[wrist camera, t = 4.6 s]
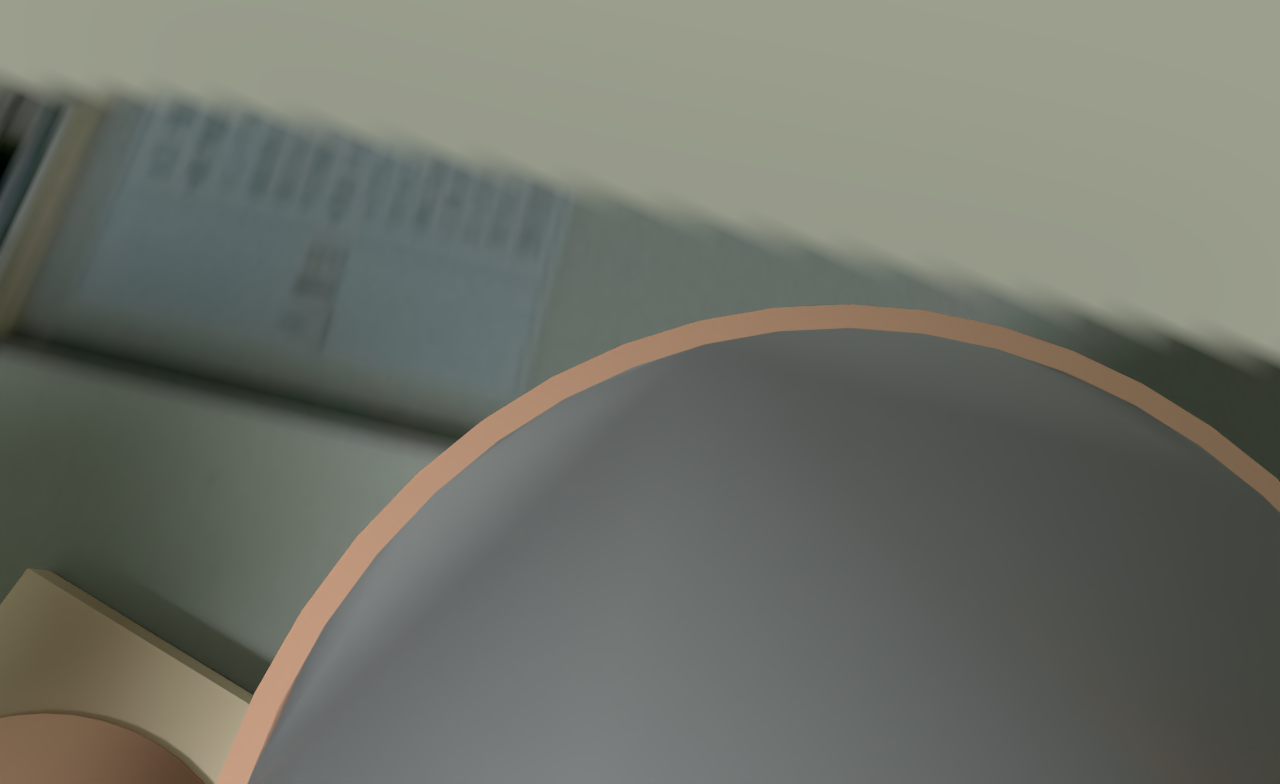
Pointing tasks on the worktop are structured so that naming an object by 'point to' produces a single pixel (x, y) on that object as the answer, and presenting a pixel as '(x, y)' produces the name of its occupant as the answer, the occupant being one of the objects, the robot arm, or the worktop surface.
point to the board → (104, 696)
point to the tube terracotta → (801, 578)
